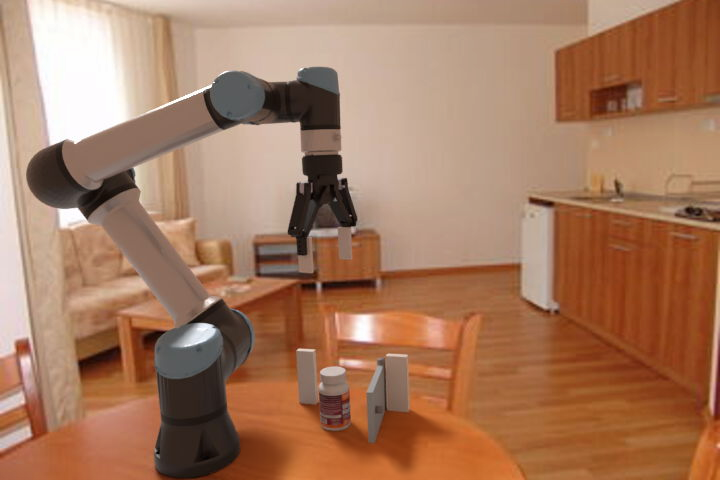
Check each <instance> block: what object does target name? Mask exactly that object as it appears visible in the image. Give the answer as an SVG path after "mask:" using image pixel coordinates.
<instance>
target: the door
mask: <svg viewBox="0 0 720 480" xmlns="http://www.w3.org/2000/svg"><path fill="white" fill-rule="evenodd" d="M365 394H366V416H367V419H366V420H367V437H368V438H367V439H368V440H367V441H368V444H375V443H376V440H377V437H378V433H379V432H380V427H381V426H382V421H383V419H384V415H385V412H386V411H387V410H388V406H387V378H386V357H377V358H376V369H375V371H374V374H373V376H372V378H371V380H370V383H369V386H368V388H367V390H366V393H365Z"/></svg>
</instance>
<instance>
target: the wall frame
mask: <svg viewBox="0 0 720 480" xmlns="http://www.w3.org/2000/svg"><path fill="white" fill-rule="evenodd" d="M316 353H317V351H316V348H315V349H314V348H312V349H311V348H297V350H295V354H296V355H295V356H296V369H297V371H296V373H297V390H298V402H299V403H298V404H306V405H317V404H318V403H319V386H318V370H317V355H316ZM385 362H386V390H387V411H388V412H389V411H391V412H399V413H400V412H401V413H409V412H410V409H411V408H410V407H411V406H410V380H409V375H410V374H409V372H410V371H409V355H408V354H403V353H386V355H385Z"/></svg>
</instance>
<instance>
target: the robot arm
mask: <svg viewBox="0 0 720 480" xmlns="http://www.w3.org/2000/svg"><path fill="white" fill-rule="evenodd" d="M338 76H339V75H338V71H336V69H334V68H332V67H329V66H308V67H302V68H300V69H299V70H298V71H297V77H296V79H295V80H294V79H293V80H288V81H267V80H265V79H262V78H259V77H257V76H254V74H253V75H252V74H251V73H250V72H246V71H244V70H243V71H242V70H240V71H238V70H227V71H223V72H222V73H220V74H219V75H218V76H217V77H216V78H215V79H213V82H212V84H209V85H208V86H206V87H203V88H201V89H199V90H195V91H194V92H191V93H189V94H186V95H185V96H181V97H179V98H177V99H175V100H172V101H170V102H167V103H165V104H163V105H161V106H158V107H156V108H154V109H151V110H149V111H147V112H144V113H142V114H139V115H137V116H135V117H132V118H129V119H128V120H125V121H123V122H120V123H117V124H116V125H113V126H111V127H108V128H106V129H103V130H102V131H99V132H96V133H94V134H92V135H90V136H87V137H84V138H83V139H81V138H78V137H69V138H65V139H64V140H61V141H59V142H56V143H54V144H52V145H49V146H47V147H45V148H42V149H41V150H39V151H38V152H37V153H35V154H34V155H33V157H31V159H30V161H29V162H28V165H27V167H26V171H25V173H26V174H25V178H26V179H25V180H26V183H27V187H28V189H29V190H30V192H31V193H32V195H33V196H34V197H35V198H36V199H37V200H38V201H40V203H42V204H44V205H46V206H47V207H50V208H54V209H60V210H70V209H78V211H79V212H80V213H81V214H82V216H83V217H84V218H85V219H86V220H87V223H89V224H91V225H97V226H101V227H102V228H103V230H104V232H106V234H107V235H108V236H109V238H110V239H111V240H112V241H113V243H114V244H115V245H116V247H117V248H118V249H119V251H120V252H121V253H122V255H123V256H124V257H125V258H126V260H127V261H128V263H130V265H131V266H132V268H133V269H134V270H135V271H136V273H137V274H138V276H139V277H140V278H141V279H142V281H143V282H144V284H146V287H148V289H149V290H150V291H151V292H152V294H153V295H154V296H155V298H156V299H157V301H158V302H159V303H160V304H161V306H162V307H163V309H164V310H165V312H167V313H168V315H169V316H170V318H171V319H172V320H173V328H171V329H169V330H166V332H165V333H163V334H162V335H160V337H158V339H157V340H156V342H155V345H154V359H153V362H154V363H153V365H154V368H155V375H156V386H157V394H158V404H159V411H160V412H159V413H160V414H159V415H160V425H159V429H158V430H159V431H158V434H157V438H156V443H155V446H154V451H153V458H154V466H155V469H156V470H157V471H158V472H159V473H161V474H162V475H164V476H167V477H170V478H175V479H177V478H178V479H180V478H181V479H188V478H189V479H190V478H197V477H202V476H206V475H210V474H213V473H215V472H219V471H221V470H222V469H225V468H226V467H228V466H229V465H231V464H232V463H233V462H234V461H235V460H236V459H237V458H238V456H240V452H241V442H240V441H241V440H240V435H239V433H238V431H237V429H236V427H235V425H234V422H233V419H232V417H231V415H230V412H229V410H228V400H227V399H228V398H227V388H226V386H227V385H226V381H227V379H229V378H230V376H232V374H233V373H234V372H235V371H237V369H238V368H239V367H240V366H242V365H243V364H244V363H245V362H246V360H248V359H249V356H250V354H251V352H252V351H253V349H254V345H255V339H256V334H255V329H254V325H253V323H252V321H251V320H250V319H249V317H248V316H247V315H246V314H245V313H243V312H242V311H240V310H238V309H233V308H230V307H229V305H228V304H227V302H226V301H225V300H224V299H223V298H222V296H216V295H215V296H214V295H211V294H210V293H209V292H208V290H207V289H206V288H205V286H204V285H203V284H202V283H201V281H200V280H199V279H198V277H197V276H196V274H195V273H194V272H193V271H192V269H191V268H190V267H189V265H188V264H187V263H186V261H185V260H184V259H183V258H182V256H181V255H180V253H178V251H177V250H176V248H175V247H174V245H173V244H172V243H171V242H170V240H169V239H168V237H166V235H165V234H164V233H163V232H162V230H161V229H160V227H159V226H158V225H157V222H155V220H153V218H152V217H151V215H150V214H149V213H148V211H147V210H146V209H145V208H144V206H143V205H142V204H141V202H140V197H141V192H142V191H141V189H140V188H139V187H138V186H137V184H136V181H137V180H136V178H135V177H136V171H135V169H134V168H135V167H138V166H140V165H143V164H145V163H147V162H149V161H153V160H155V159H158V158H160V157H162V156H164V155H167V154H170V153H171V152H174V151H177V150H179V149H182V148H184V147H186V146H188V145H191V144H194V143H197V142H198V141H201V140H203V139H206V138H209V137H210V136H213V135H215V134H218V133H220V132H222V131H225V130H229V129H231V128H234V127H236V126H239V125H252V126H261V125H271V124H272V125H273V124H287V123H294V124H295V123H299V126H300V127H299V128H300V129H299V130H300V132H299V133H300V151H301V153H304V155H303V156H302V157H301V168H302V169H301V171H302V175H303V176H306V177H307V181H297V182H296V184H295V185H296V186H295V189H296V190H295V193H296V194H295V198H294V202H293V205H292V206H293V207H292V211H291V214H290V217H289V218H290V219H289V223H288V228H287V235H289V236H290V237H291V238H295V239H296V254H297V258H298V260H297V261H298V272H299V273H304V274H314V255H313V237H312V236H309V235H310V233H311V231H312V227H313V226H314V223H315V221H316V218H317V216H318V214H319V211H320V208H321V207H323V206H324V205H328V206H329V208H330V209H331V211H332V213H333V214H334V216H335V218H336V220H337V222H338V223H339V225H340V226H337V239H338V240H337V242H338V243H337V244H338V259H339V260H349V261H351V260H353V245H352V240H353V238H352V236H353V235H352V228H353V227H356V226H357V222H358V215H357V211H356V209H355V206H354V203H353V199H352V197H351V194H350V189H349V183H348V178H347V177H338V175H341V174H343V156H342V154H339V152H341V151H342V135H341V134H342V133H341V129H342V126H341V105H340V104H341V100H340V98H341V93H340V87H339V86H340V85H339V77H338Z"/></svg>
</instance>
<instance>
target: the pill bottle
mask: <svg viewBox="0 0 720 480" xmlns="http://www.w3.org/2000/svg"><path fill="white" fill-rule="evenodd" d="M319 380H320V383H319V385H318V403H319V404H318V405H319V418H320V419H319V421H320V426H321V428H322V429H324V430H327V431H330V432H331V431H332V432H338V431H344V430H345V429H348V427H350V425H351V422H352V420H351V419H352V418H351V399H350V398H351V395H350V384H349V383H348V382H347V370H346V368H344V367H342V366H337V365H335V366H327V367H324V368H322V369H321V370H320V371H319Z"/></svg>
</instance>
